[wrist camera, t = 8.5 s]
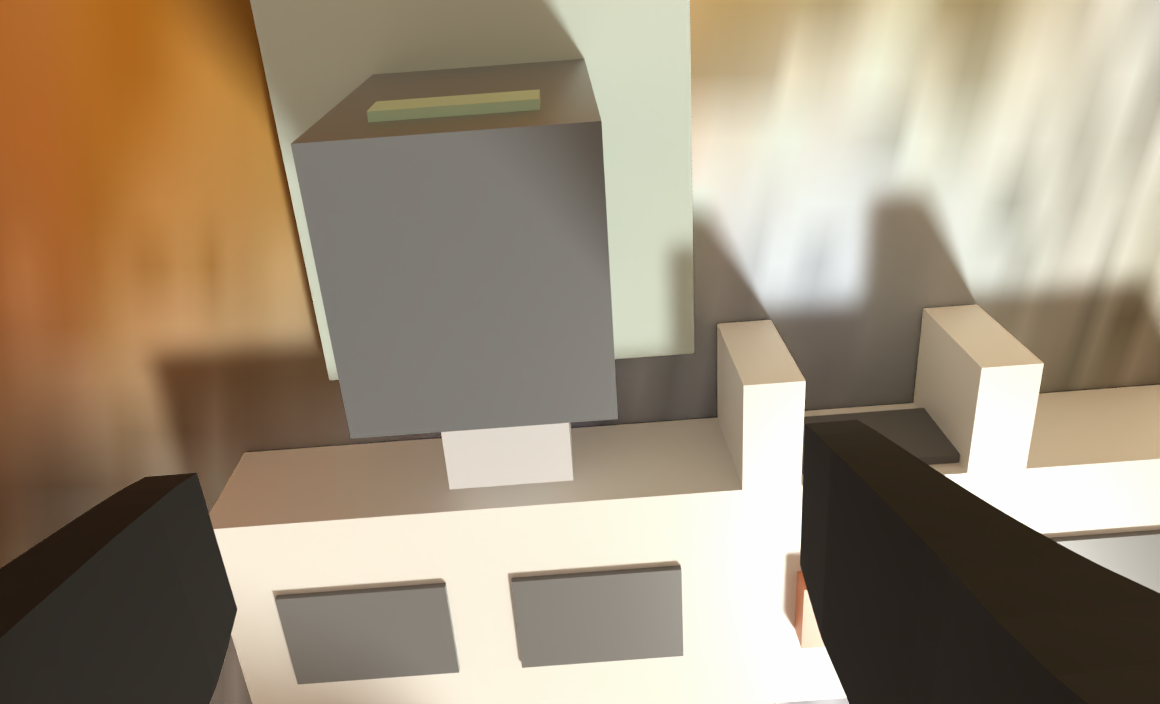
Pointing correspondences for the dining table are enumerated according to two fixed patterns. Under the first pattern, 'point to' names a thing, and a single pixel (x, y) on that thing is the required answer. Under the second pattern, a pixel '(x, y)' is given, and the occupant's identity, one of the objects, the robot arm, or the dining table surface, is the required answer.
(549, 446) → the block
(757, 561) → the power strip
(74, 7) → the dining table surface
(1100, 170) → the dining table surface
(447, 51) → the coaster
